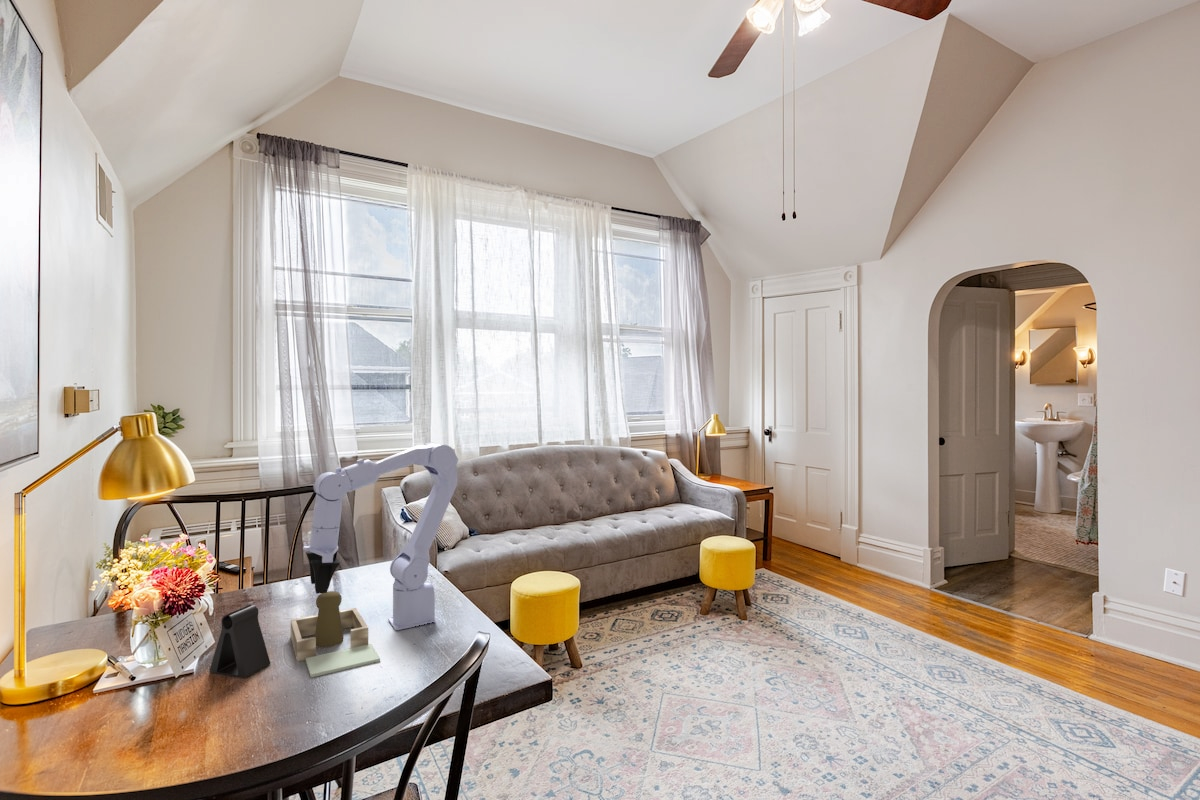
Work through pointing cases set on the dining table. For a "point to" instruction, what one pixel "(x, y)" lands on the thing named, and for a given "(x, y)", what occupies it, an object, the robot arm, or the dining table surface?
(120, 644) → the dining table surface
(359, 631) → the access bay
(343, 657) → the sage mat
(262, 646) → the black triangular stand
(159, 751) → the dining table surface
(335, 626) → the olive game pawn
